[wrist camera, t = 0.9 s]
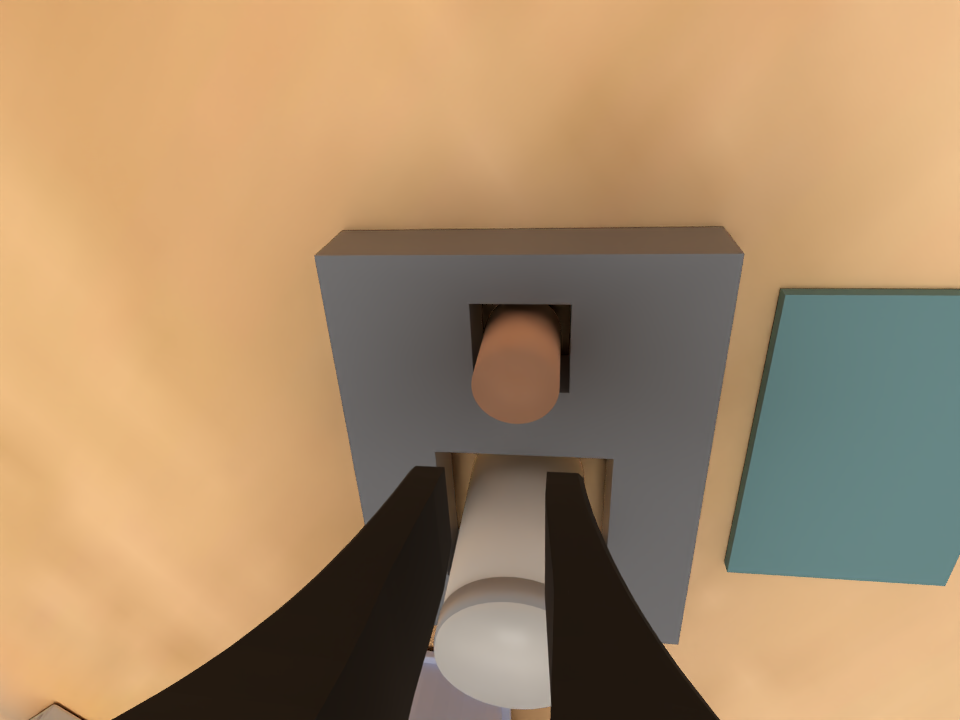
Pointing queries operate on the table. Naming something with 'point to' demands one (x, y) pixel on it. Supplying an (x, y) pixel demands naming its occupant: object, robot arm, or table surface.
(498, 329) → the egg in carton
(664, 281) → the grey board with holes
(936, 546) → the mat
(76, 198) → the table surface
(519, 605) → the filter cartridge
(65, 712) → the skincare box
